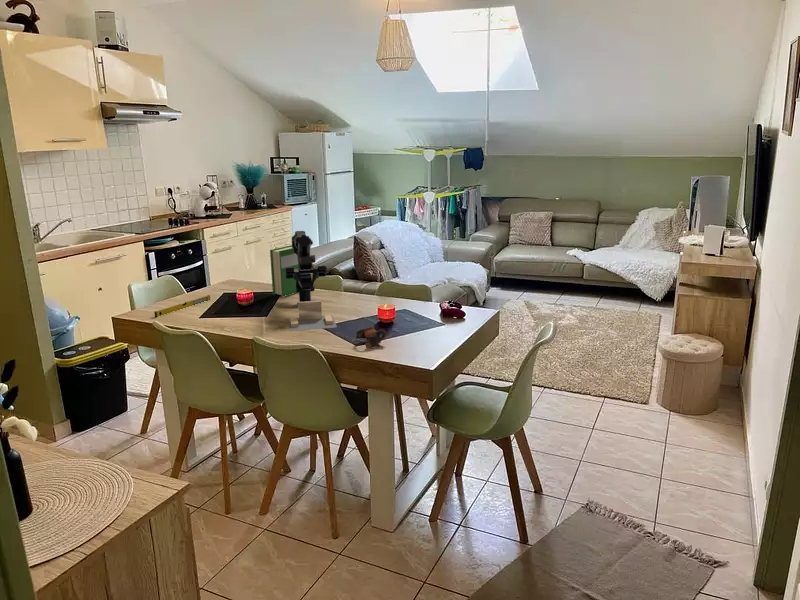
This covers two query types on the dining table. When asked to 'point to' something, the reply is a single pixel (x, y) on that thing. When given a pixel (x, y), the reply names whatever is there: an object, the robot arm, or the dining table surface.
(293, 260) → the hardback book
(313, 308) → the birch plank
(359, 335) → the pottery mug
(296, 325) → the plank mat
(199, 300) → the spirit level
